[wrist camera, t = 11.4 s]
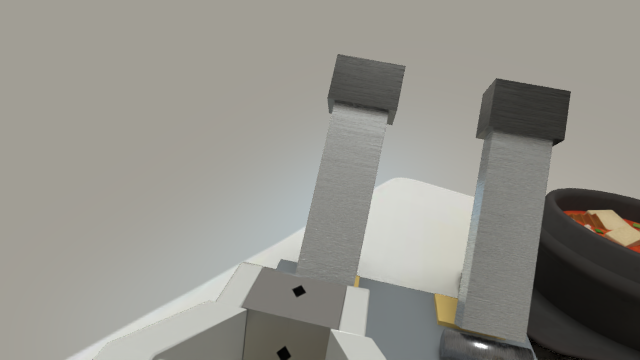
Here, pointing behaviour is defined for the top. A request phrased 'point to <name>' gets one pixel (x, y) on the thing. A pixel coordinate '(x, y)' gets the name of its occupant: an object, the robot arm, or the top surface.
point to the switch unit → (408, 319)
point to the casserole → (588, 276)
